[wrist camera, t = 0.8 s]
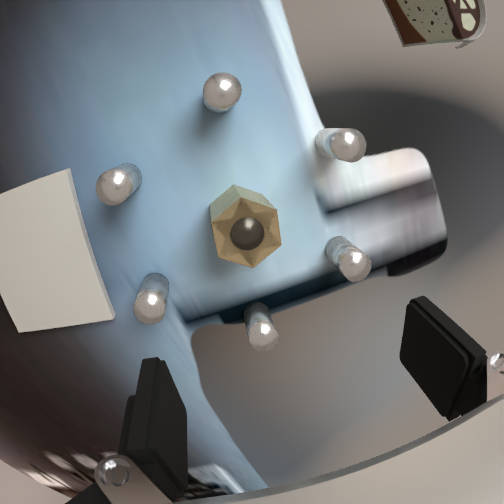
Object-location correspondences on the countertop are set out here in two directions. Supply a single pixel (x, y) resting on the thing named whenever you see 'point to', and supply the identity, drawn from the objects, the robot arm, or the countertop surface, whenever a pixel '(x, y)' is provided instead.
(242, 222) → the faceted candle holder
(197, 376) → the countertop surface
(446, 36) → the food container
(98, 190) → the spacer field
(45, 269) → the mat
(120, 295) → the countertop surface
